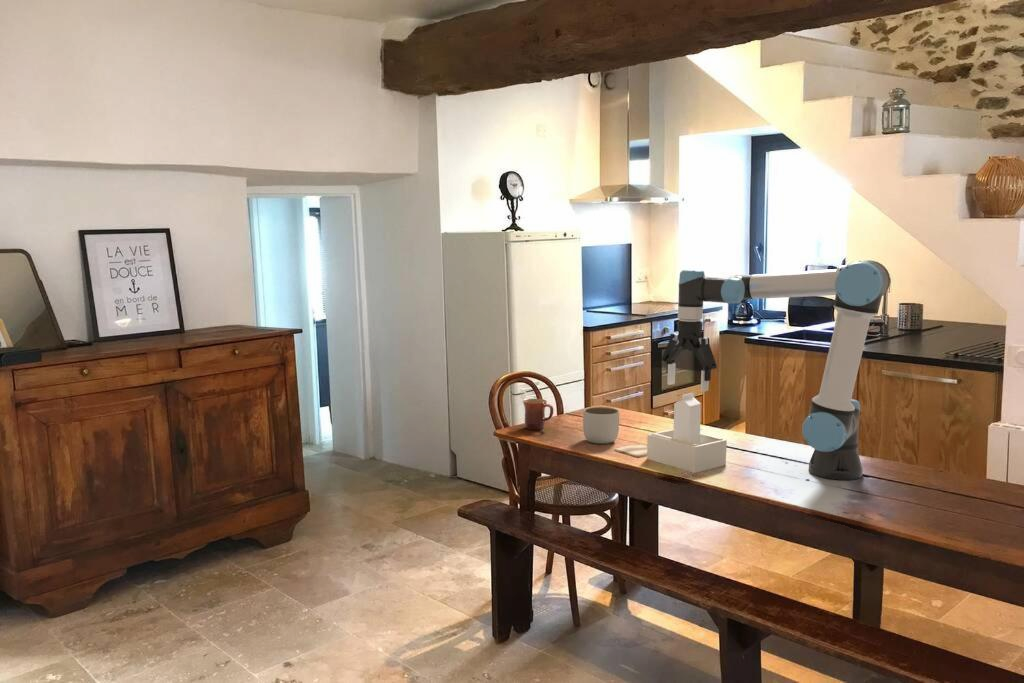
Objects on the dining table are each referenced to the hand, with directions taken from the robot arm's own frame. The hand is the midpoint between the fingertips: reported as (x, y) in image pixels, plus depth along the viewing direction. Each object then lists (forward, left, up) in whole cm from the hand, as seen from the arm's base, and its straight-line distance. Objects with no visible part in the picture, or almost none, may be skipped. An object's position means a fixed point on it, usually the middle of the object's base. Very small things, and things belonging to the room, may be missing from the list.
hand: (687, 387), depth 258 cm
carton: (0, 0, -24) cm, 24 cm away
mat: (+18, +3, -24) cm, 30 cm away
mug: (+62, +10, -24) cm, 67 cm away
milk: (0, 0, -24) cm, 24 cm away
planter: (+35, +4, -24) cm, 42 cm away
